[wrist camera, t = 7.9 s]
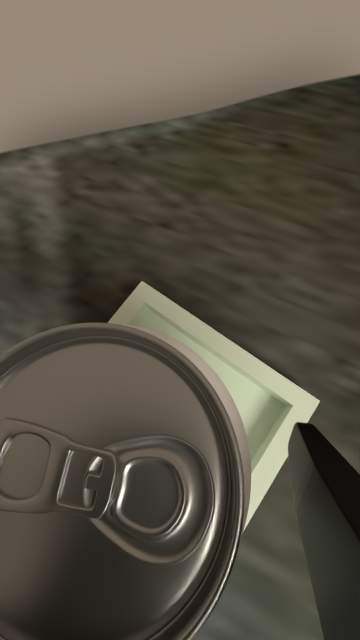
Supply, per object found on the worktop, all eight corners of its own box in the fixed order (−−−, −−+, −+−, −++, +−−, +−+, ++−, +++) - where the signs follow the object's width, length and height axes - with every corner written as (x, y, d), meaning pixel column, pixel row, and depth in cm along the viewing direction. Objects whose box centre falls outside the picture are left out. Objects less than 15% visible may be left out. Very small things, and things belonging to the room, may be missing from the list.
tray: (306, 401, 17) (320, 401, 15) (186, 600, 14) (184, 630, 12) (147, 293, 19) (142, 280, 17) (23, 446, 17) (1, 451, 15)
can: (208, 503, 15) (249, 821, 4) (92, 478, 16) (-190, 674, 4) (225, 381, 17) (287, 328, 5) (119, 362, 17) (-27, 280, 6)
